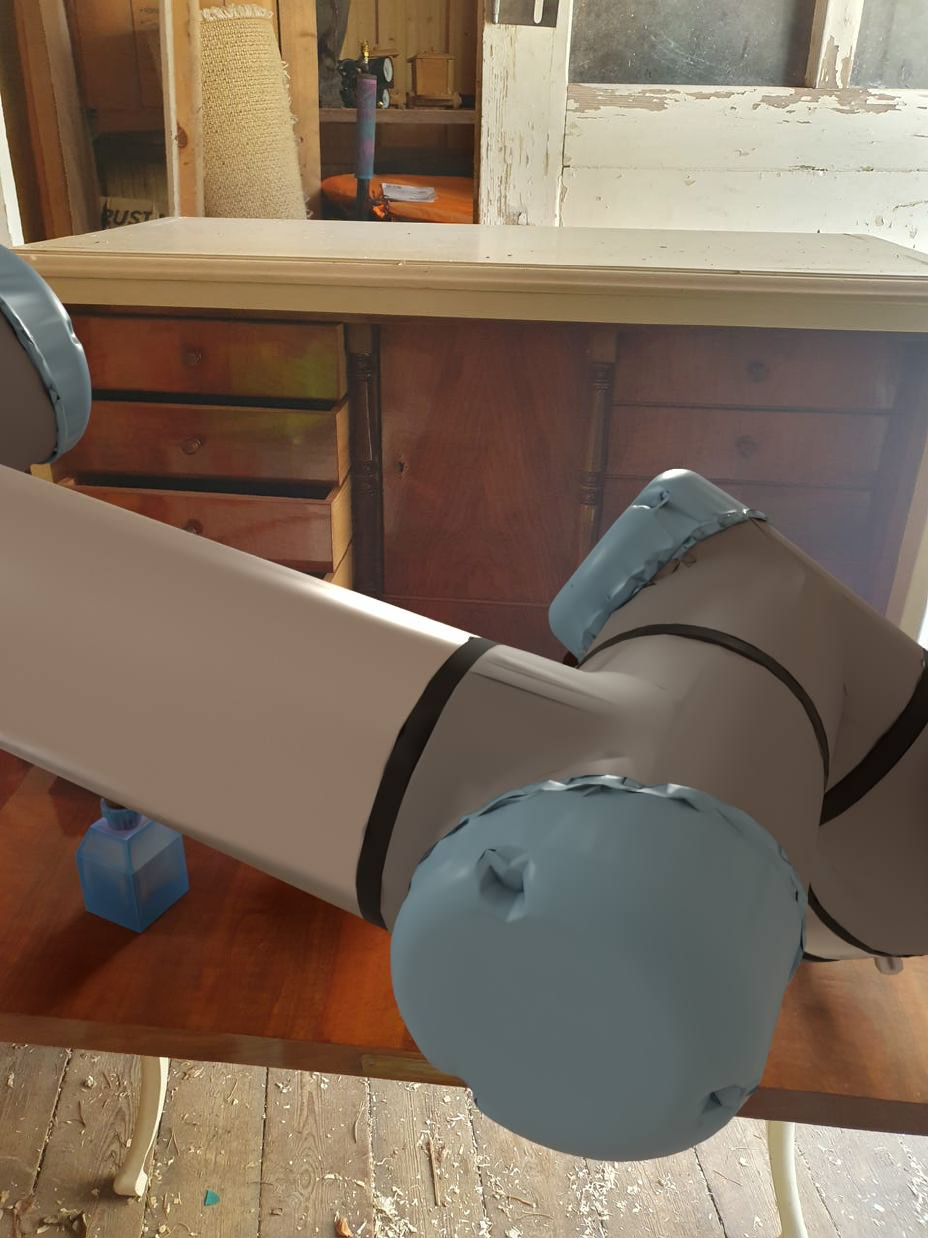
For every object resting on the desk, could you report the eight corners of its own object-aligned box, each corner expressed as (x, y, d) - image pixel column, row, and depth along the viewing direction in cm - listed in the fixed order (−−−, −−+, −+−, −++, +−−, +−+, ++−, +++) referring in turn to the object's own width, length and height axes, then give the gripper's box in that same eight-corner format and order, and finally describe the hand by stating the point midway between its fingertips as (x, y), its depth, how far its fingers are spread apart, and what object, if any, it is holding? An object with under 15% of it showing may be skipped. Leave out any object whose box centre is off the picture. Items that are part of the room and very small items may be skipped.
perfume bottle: (136, 869, 89) (119, 760, 84) (189, 889, 87) (174, 778, 82) (86, 910, 84) (64, 797, 79) (140, 933, 82) (121, 818, 77)
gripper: (559, 1018, 37) (459, 1007, 56) (1095, 911, 42) (836, 934, 62) (522, 821, 39) (439, 876, 59) (1034, 744, 45) (803, 818, 64)
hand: (642, 906), depth 60 cm, fingers open, 13 cm apart
